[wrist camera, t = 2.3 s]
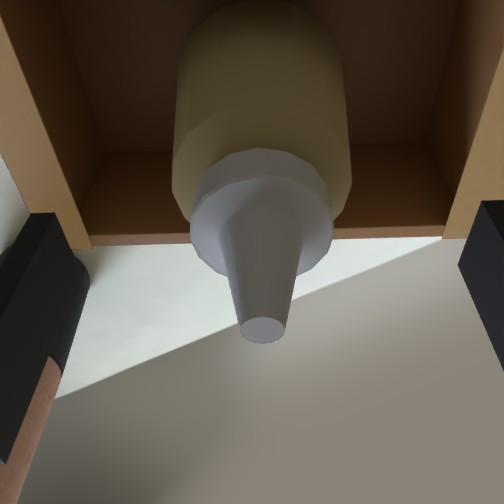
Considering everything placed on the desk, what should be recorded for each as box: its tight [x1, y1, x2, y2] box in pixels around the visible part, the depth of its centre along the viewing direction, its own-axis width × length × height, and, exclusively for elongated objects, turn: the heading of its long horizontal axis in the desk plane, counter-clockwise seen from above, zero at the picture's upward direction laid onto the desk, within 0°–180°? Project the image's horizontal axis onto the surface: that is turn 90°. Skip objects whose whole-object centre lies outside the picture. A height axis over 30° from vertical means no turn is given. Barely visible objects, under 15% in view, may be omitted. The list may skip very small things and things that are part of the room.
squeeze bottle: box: [172, 0, 352, 344], centre depth 18 cm, size 8×8×18 cm
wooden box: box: [0, 0, 504, 249], centre depth 22 cm, size 13×23×8 cm, turn 93°
